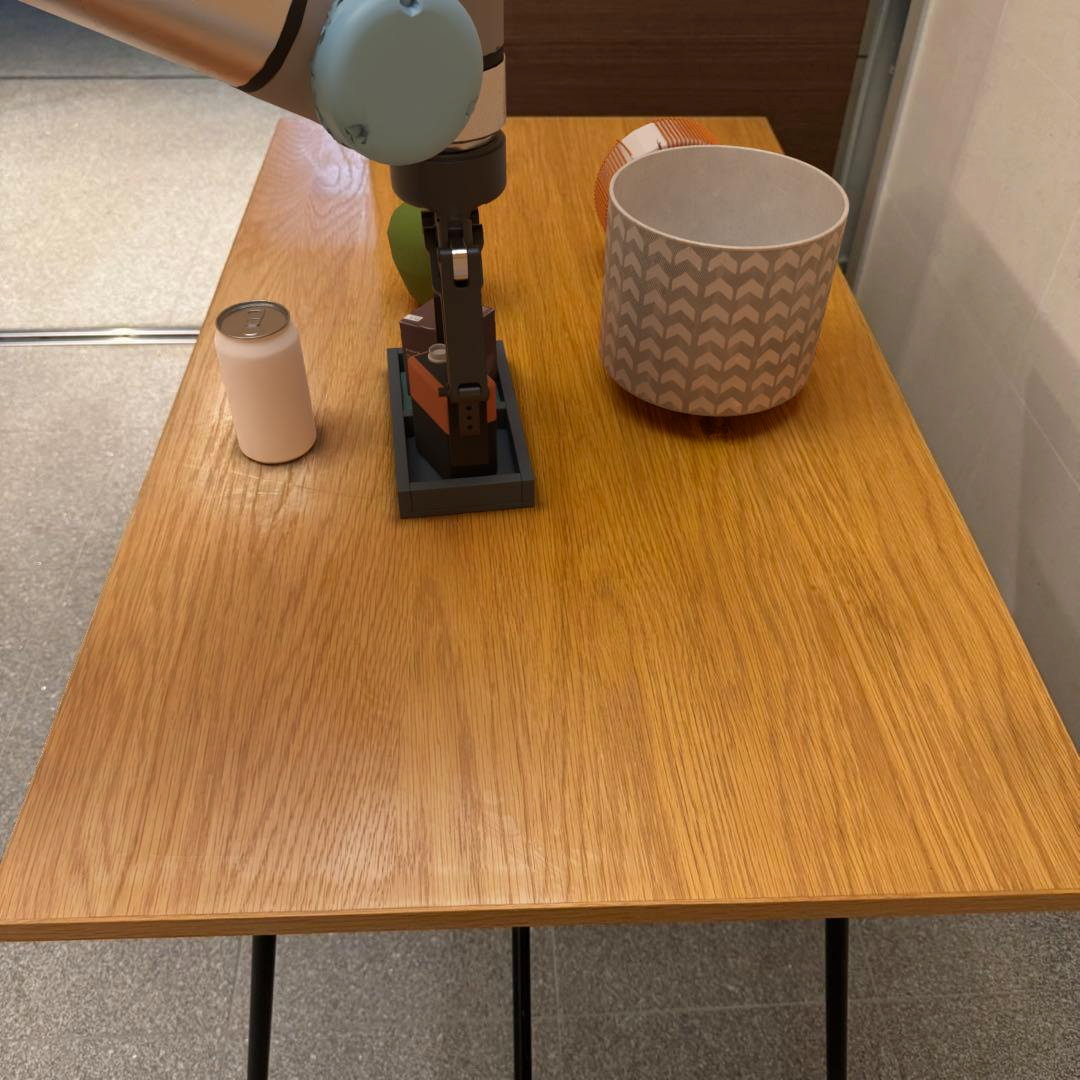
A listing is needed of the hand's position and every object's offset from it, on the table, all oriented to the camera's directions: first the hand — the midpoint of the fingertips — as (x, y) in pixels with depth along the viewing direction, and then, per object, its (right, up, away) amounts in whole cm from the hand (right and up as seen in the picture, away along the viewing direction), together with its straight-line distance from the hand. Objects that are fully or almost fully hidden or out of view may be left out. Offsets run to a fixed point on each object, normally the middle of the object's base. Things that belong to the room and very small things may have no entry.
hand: (462, 411), depth 77 cm
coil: (+19, +20, +31) cm, 41 cm away
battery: (-1, -4, +5) cm, 6 cm away
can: (-16, -2, +8) cm, 18 cm away
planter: (+21, +4, +15) cm, 26 cm away
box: (-2, +3, +11) cm, 12 cm away
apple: (-4, +14, +24) cm, 28 cm away
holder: (-1, -1, +8) cm, 8 cm away
